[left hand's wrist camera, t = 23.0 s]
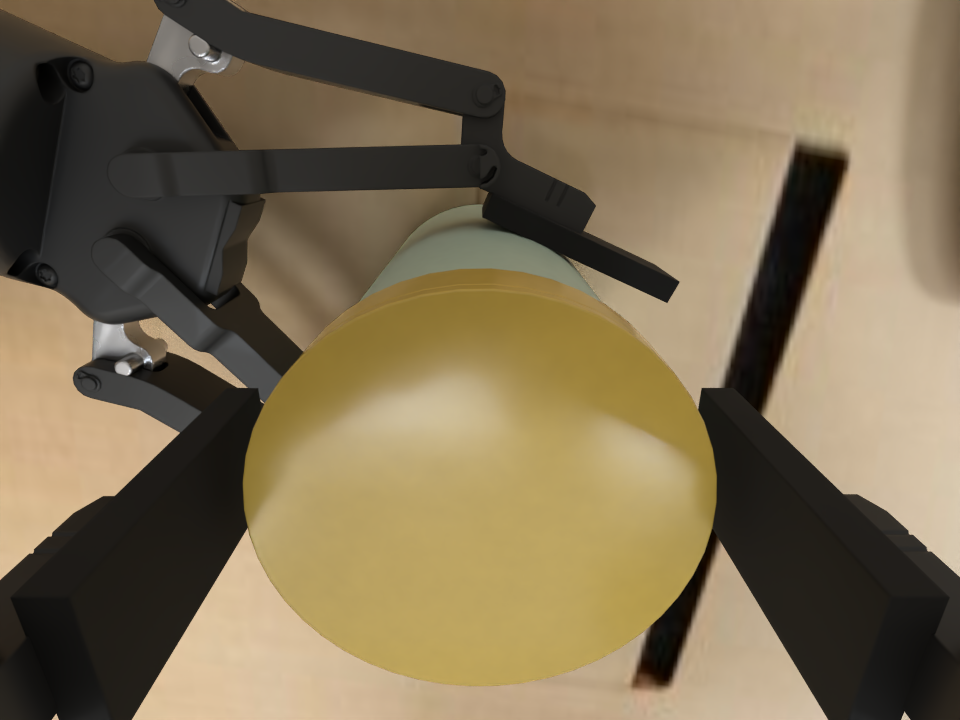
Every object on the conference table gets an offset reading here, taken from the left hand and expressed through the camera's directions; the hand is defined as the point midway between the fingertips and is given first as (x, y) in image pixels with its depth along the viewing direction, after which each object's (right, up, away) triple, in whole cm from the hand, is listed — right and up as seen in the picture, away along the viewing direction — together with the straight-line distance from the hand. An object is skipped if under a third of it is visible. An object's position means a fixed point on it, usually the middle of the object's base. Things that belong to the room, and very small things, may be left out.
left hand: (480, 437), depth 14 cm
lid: (0, -1, -3) cm, 3 cm away
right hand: (+4, +1, +7) cm, 8 cm away
